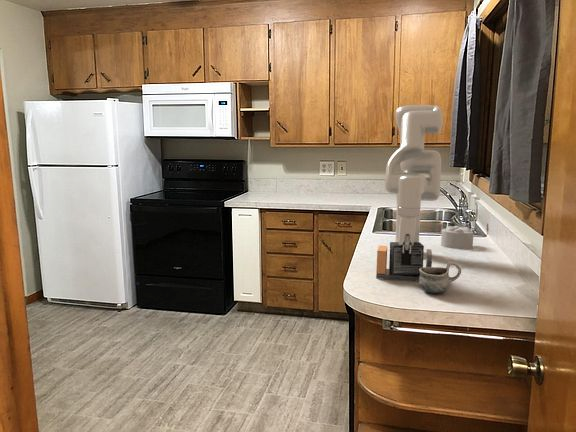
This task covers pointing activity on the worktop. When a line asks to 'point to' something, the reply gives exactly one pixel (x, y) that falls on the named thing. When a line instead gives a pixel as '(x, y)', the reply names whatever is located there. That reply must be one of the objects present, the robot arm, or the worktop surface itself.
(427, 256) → the grey bent bar
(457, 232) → the beige piece
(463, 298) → the worktop surface
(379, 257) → the vise slide jaw
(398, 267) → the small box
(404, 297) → the worktop surface
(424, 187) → the robot arm
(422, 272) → the mug
